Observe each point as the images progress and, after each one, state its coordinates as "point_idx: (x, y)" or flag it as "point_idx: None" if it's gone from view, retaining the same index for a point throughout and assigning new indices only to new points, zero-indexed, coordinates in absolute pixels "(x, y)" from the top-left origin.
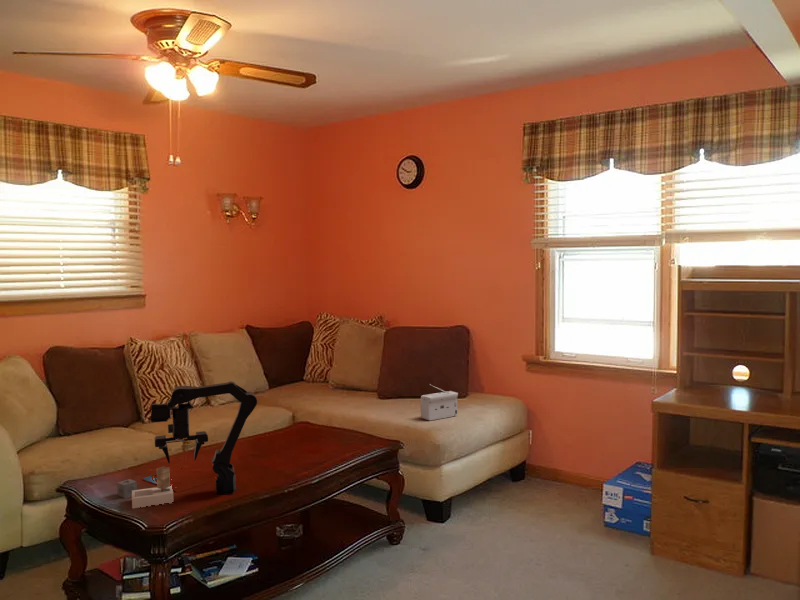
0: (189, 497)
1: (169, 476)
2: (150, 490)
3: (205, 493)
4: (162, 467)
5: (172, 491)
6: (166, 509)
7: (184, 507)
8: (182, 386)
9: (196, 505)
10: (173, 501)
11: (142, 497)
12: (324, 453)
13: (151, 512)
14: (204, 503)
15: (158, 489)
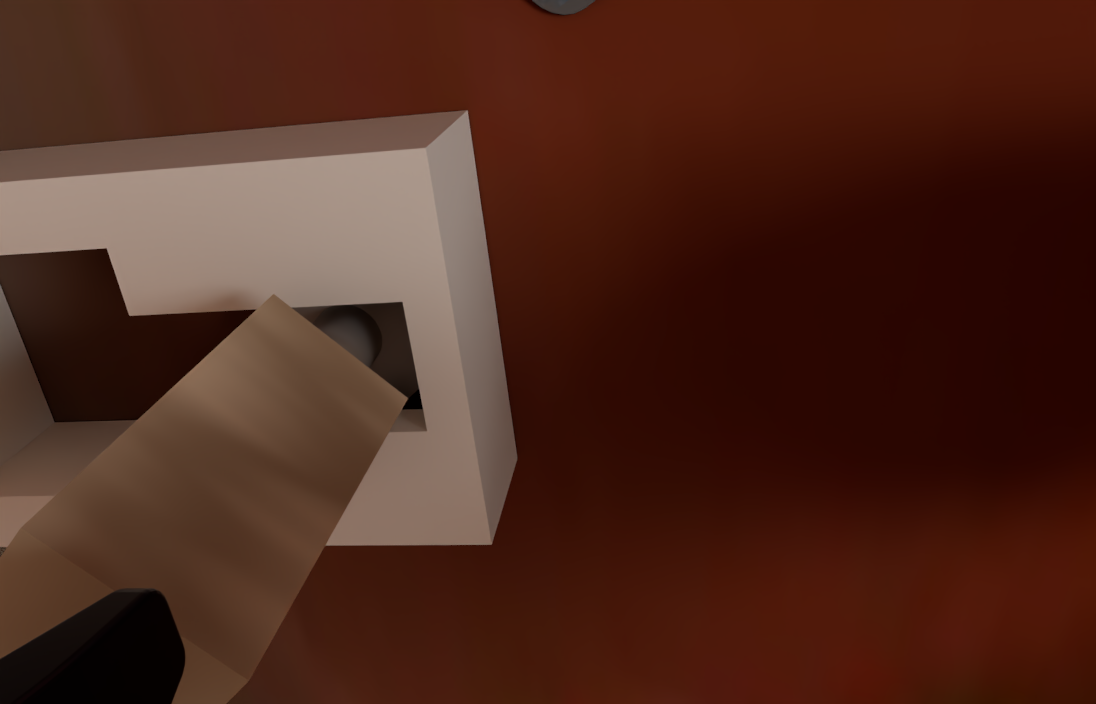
0: (741, 325)
1: (337, 518)
2: (91, 242)
3: (1023, 229)
4: (49, 622)
5: (471, 471)
6: (449, 620)
7: (658, 637)
8: None
9: (808, 631)
10: (513, 471)
11: None
12: None
13: (296, 639)
14: (920, 607)
15: (220, 295)
